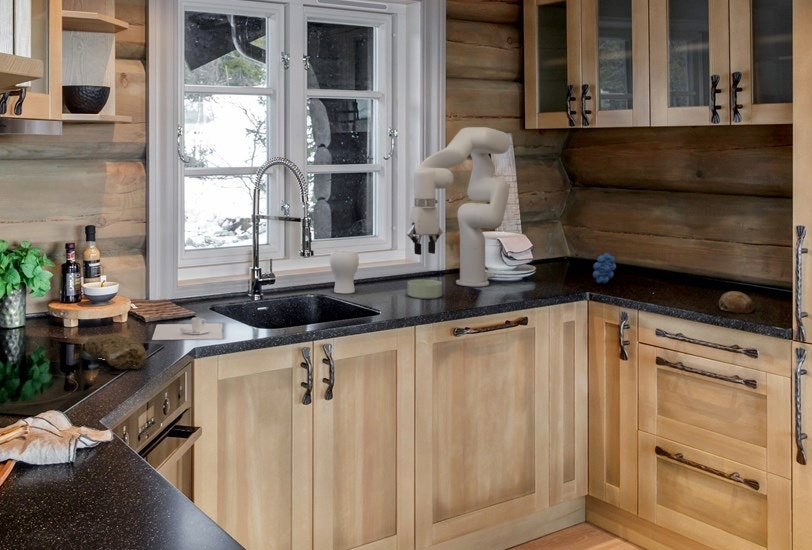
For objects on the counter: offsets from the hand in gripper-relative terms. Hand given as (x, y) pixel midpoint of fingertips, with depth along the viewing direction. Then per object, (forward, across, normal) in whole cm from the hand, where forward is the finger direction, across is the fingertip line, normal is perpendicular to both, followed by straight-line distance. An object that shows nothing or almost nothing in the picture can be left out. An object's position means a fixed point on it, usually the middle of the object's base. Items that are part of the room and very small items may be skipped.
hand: (424, 253), depth 302 cm
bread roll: (+16, -75, +68) cm, 102 cm away
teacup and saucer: (+16, +95, +12) cm, 97 cm away
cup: (+16, +21, -21) cm, 34 cm away
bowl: (+15, 0, 0) cm, 15 cm away
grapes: (+16, -77, +11) cm, 79 cm away
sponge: (+16, +124, +36) cm, 130 cm away
